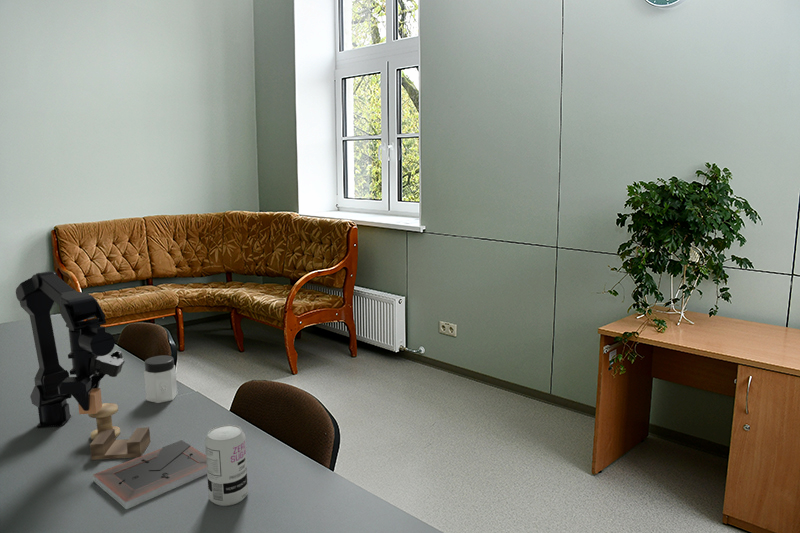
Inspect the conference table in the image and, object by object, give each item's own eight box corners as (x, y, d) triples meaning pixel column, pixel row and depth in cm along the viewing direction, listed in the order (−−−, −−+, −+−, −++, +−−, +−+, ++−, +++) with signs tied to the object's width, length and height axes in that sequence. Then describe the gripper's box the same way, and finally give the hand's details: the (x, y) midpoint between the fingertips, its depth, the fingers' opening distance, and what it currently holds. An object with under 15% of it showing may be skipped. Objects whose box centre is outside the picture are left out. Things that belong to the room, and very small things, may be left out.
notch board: (91, 459, 147) (89, 444, 146) (103, 444, 154) (102, 429, 154) (140, 457, 148) (139, 441, 147) (150, 441, 156) (149, 427, 155)
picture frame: (182, 448, 153) (93, 483, 137) (181, 439, 153) (92, 473, 137) (218, 471, 142) (126, 511, 127) (217, 461, 142) (125, 501, 126)
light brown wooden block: (79, 414, 149) (77, 395, 148) (85, 407, 153) (83, 388, 152) (96, 413, 150) (94, 394, 149) (102, 406, 154) (100, 388, 153)
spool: (86, 442, 155) (83, 415, 154) (96, 430, 162) (94, 403, 161) (114, 440, 156) (112, 413, 155) (124, 428, 163) (121, 402, 162)
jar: (149, 405, 178) (146, 366, 175) (143, 396, 184) (140, 358, 182) (180, 398, 183) (178, 360, 180) (174, 389, 189) (171, 353, 187)
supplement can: (213, 487, 135) (209, 424, 132) (251, 485, 135) (247, 422, 132) (205, 508, 127) (200, 442, 124) (245, 506, 127) (241, 440, 124)
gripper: (104, 358, 140) (110, 421, 143) (130, 334, 158) (135, 390, 161) (53, 360, 139) (60, 424, 142) (85, 335, 157) (91, 392, 160)
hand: (90, 406), depth 151 cm, fingers closed on light brown wooden block, 4 cm apart
